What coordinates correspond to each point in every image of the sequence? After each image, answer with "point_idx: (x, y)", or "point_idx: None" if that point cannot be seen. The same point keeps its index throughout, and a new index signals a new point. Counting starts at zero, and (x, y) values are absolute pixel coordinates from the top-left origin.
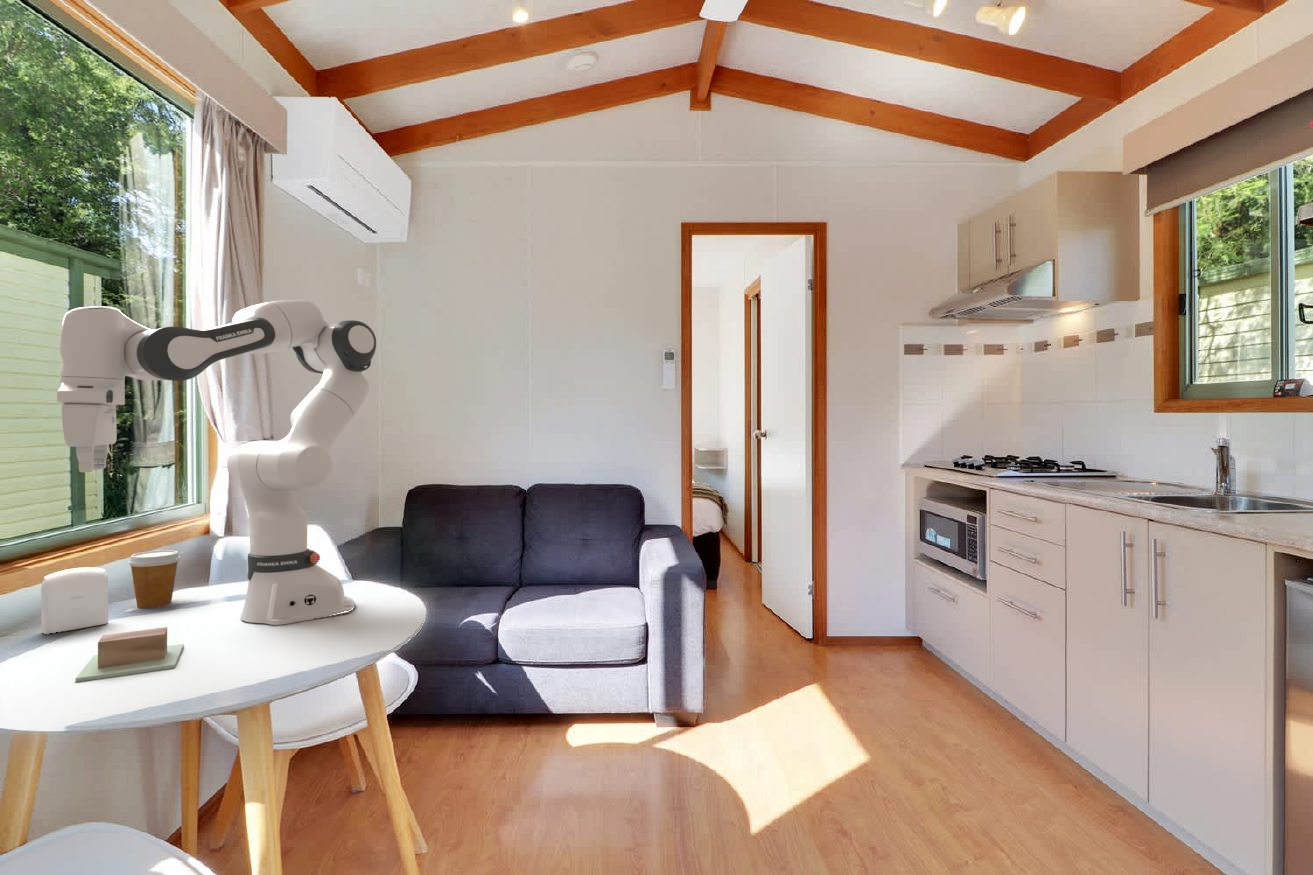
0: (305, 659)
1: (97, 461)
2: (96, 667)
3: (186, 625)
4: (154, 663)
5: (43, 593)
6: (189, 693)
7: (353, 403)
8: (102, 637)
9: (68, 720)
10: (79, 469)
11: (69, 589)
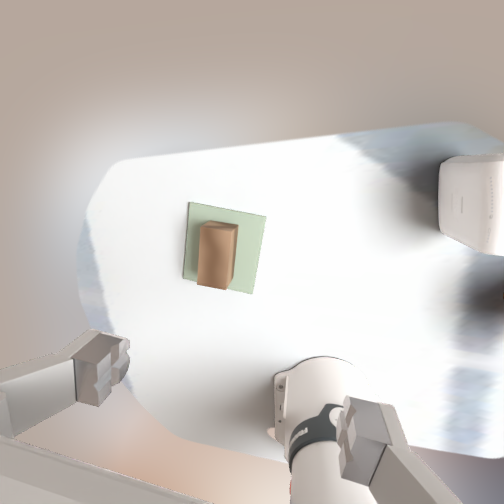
0: (148, 361)
1: (348, 444)
2: (216, 219)
3: (351, 308)
4: (197, 264)
5: (485, 158)
6: (110, 277)
7: None
8: (220, 231)
9: (92, 199)
10: (85, 334)
11: (471, 196)
